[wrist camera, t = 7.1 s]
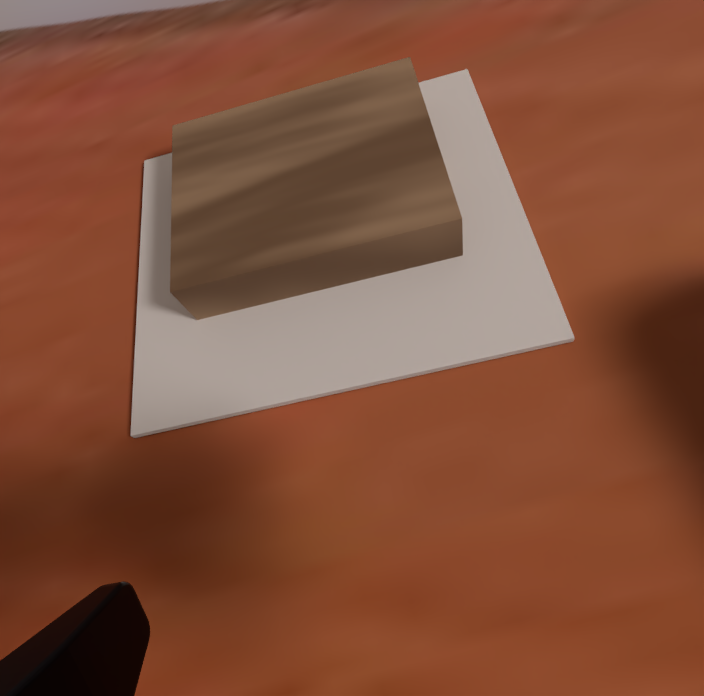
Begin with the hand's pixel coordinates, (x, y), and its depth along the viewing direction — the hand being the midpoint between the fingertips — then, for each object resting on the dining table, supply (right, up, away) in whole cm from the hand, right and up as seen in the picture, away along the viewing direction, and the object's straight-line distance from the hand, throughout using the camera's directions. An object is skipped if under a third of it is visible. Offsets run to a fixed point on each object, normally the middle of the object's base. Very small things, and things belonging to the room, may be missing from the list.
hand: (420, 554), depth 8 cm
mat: (-3, +8, +17) cm, 19 cm away
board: (-2, +6, +14) cm, 16 cm away
